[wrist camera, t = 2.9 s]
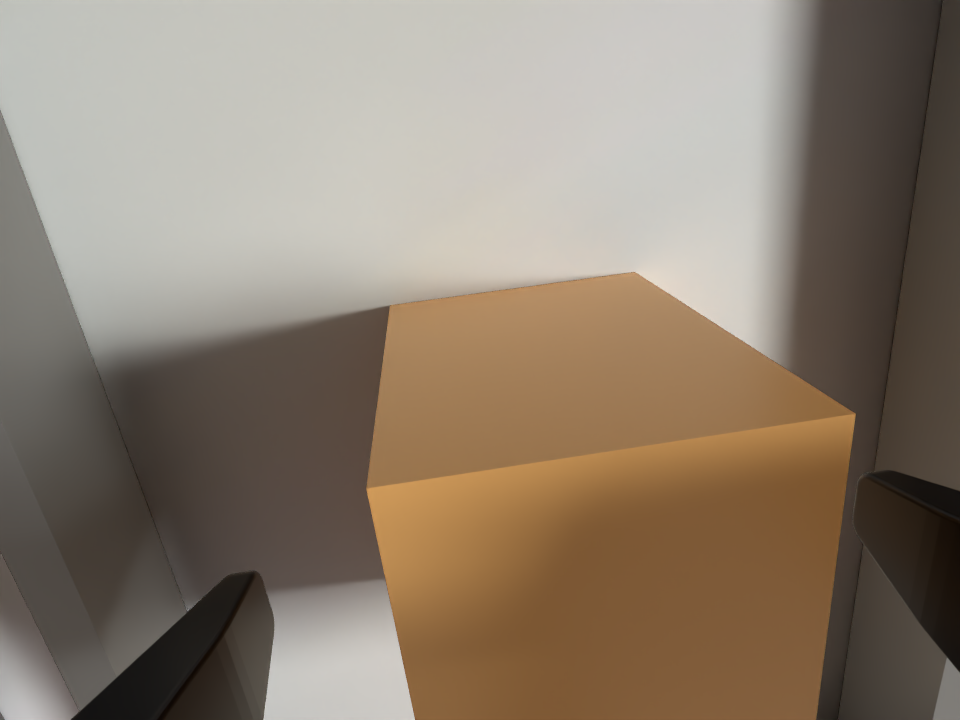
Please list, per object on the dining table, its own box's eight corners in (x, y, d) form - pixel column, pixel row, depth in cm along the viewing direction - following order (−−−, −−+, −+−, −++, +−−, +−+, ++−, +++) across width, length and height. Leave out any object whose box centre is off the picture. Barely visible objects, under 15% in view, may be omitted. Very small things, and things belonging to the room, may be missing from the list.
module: (638, 538, 13) (801, 831, 8) (436, 570, 13) (453, 899, 7) (634, 271, 11) (855, 413, 6) (389, 304, 11) (367, 488, 5)
